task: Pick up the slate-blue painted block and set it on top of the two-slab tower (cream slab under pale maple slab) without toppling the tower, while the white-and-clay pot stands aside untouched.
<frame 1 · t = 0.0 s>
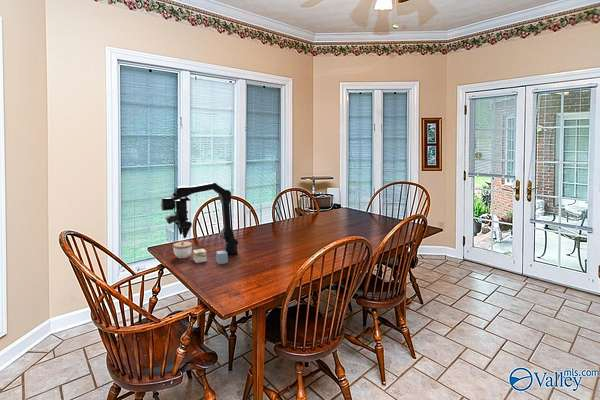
hand: (182, 236, 203), 15 cm above the table, fingers open, 9 cm apart
lidded jar: (183, 257, 213), on the table
blue block: (222, 262, 205), on the table
slab bottom: (200, 260, 207), on the table, touching slab top
slab top: (199, 255, 207), point 3 cm above the table, touching slab bottom
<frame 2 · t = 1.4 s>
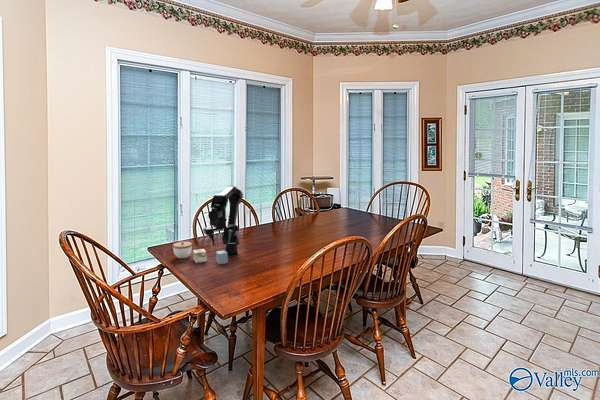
hand: (221, 244, 203), 11 cm above the table, fingers open, 9 cm apart
nothing on the table moved.
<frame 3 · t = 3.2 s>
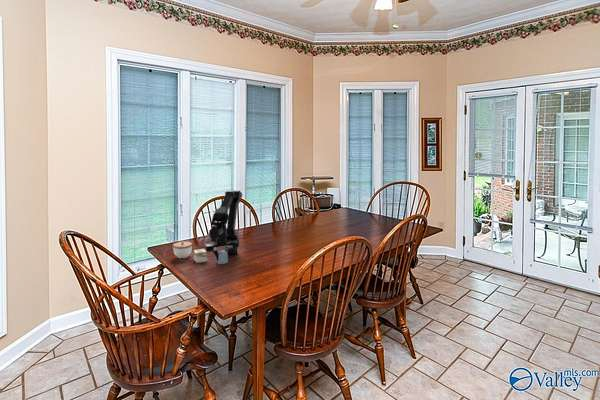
hand: (221, 260, 205), 1 cm above the table, fingers closed on blue block, 5 cm apart
blue block: (222, 262, 205), on the table, touching gripper
everything else where it was.
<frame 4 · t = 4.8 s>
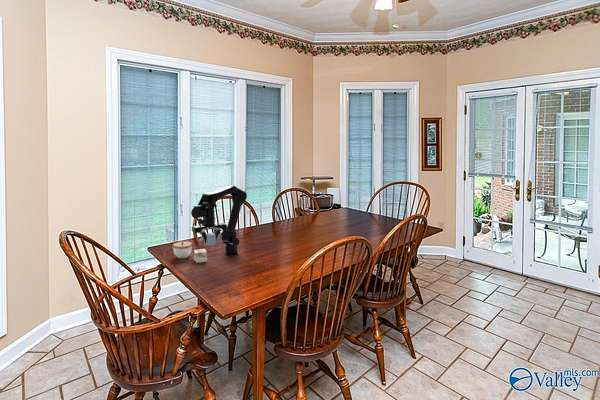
hand: (210, 242, 204), 11 cm above the table, fingers closed on blue block, 5 cm apart
blue block: (210, 244, 204), point 10 cm above the table, touching gripper
everything else where it was.
when the fingers open (8 cm above the table, at t = 6.5 s): blue block drops 2 cm, resting on slab top.
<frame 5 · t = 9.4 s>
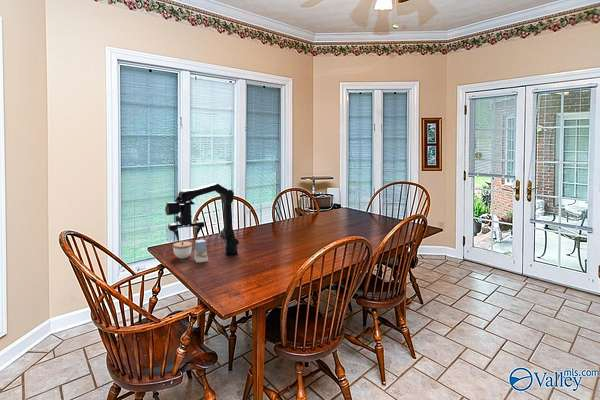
hand: (187, 240, 201), 13 cm above the table, fingers open, 9 cm apart
blue block: (200, 251, 206), point 6 cm above the table, touching slab top
slab top: (200, 256, 207), point 2 cm above the table, touching blue block, slab bottom
everything else where it was.
at the end: blue block 0.1 cm off-centre on the slab bottom, point 6.0 cm above the slab bottom's base; slab top 0.2 cm off-centre on the slab bottom, point 3.0 cm above the slab bottom's base; blue block tilted 0° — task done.
